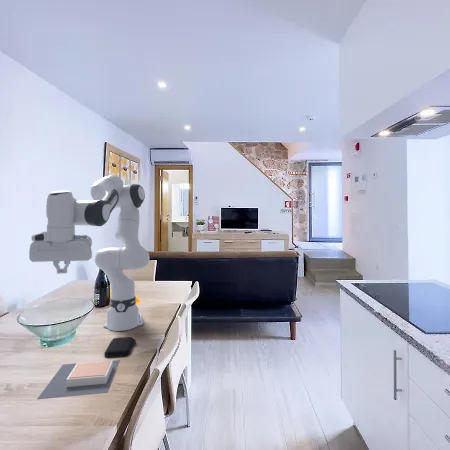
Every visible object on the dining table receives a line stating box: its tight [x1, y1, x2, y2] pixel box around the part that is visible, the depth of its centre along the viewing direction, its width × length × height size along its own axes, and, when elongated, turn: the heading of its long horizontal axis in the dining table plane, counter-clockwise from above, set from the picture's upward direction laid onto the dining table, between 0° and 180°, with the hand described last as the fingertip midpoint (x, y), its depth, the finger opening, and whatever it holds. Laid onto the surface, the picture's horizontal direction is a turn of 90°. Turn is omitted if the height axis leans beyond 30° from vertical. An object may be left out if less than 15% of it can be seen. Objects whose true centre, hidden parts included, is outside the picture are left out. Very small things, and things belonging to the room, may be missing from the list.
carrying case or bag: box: [103, 336, 137, 358], centre depth 119 cm, size 11×3×15 cm
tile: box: [66, 360, 114, 387], centre depth 99 cm, size 10×3×12 cm
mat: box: [37, 359, 121, 400], centre depth 98 cm, size 20×20×1 cm
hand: (62, 273), depth 106 cm, fingers closed
